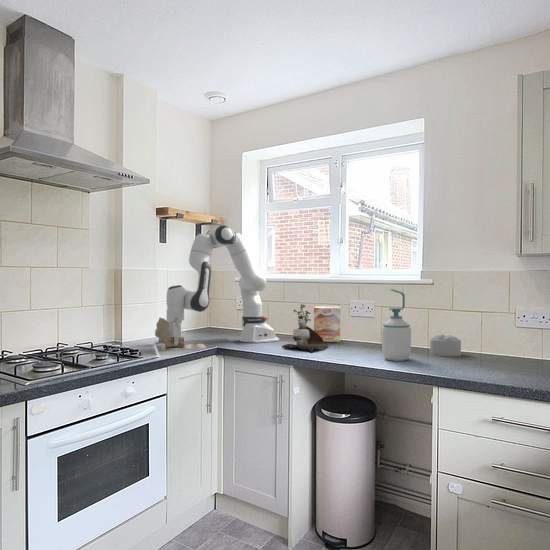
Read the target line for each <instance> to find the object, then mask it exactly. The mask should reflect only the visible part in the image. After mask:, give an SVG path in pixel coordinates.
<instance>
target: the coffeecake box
mask: <svg viewBox="0 0 550 550" xmlns="http://www.w3.org/2000/svg"><path fill="white" fill-rule="evenodd" d="M341 310H342V309H341V306H314V307H313V331H315V332H316V333H317V334H318V335H319V336H320V337H321V338H322V339H323V340H324V342H326V343H327V342H329V343H332V342H333V343H334V342H335V343H340V342H341V339H342V338H341V336H342V335H341V334H342V333H341V332H342V331H341V329H342V328H341V320H342V319H341V315H342V314H341Z"/></svg>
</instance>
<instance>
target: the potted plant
mask: <svg viewBox="0 0 550 550" xmlns="http://www.w3.org/2000/svg"><path fill="white" fill-rule="evenodd" d="M304 308H306V305H305V304H303V303H302V304H300V307H299V309H300V311H297V310H296V309H294V310H293V313H297V318H298V319H297V322H298V323H297V324H298V328H297V329H293V332H292V339H293V340H294V341H295V342H296V344H294V343H293V344H292V343H286V344H283V345H282V346H281V348H282V349H283V348H284V349H285V350H286V351H287V350H288V349H289V348H291V347H292V348H293V349H296V347H298V348H299V349H301V350H303V351H307V349H309V351H310V352H313V349H317V350H320V351H323V350H324V351H325V350H326V349H327V348H328V347H329V346H330V345H329V344H328V343H327V342H324V340H323V339H322V338H321V337H320V336H319V335H318V334H317V333H316V332H315V331H314V329H313V328H311V327H309V326H307V323H308V321H309V322H310V321H312V319H310V318H309V315H310V314H311V312H309V311H308V310H305V312H304Z"/></svg>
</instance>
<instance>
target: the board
mask: <svg viewBox="0 0 550 550" xmlns="http://www.w3.org/2000/svg"><path fill="white" fill-rule="evenodd" d="M160 348H161V350H162V351H170V350H171V351H172V350H188V349H201V348H202V349H203V348H204V349H205V348H207V346H206V345H205V344H204V343H194V344H193V343H190V344H184V347H169V348H166V346H165V345H160Z"/></svg>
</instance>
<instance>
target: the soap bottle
mask: <svg viewBox="0 0 550 550" xmlns="http://www.w3.org/2000/svg"><path fill="white" fill-rule="evenodd" d="M390 291H391V292H393V293H398V294H400V295H401V296H402V307H389V308H388V310H389V311H391V312H392V313H393V315H390V316H389V319H388V320H387V321H385V322H384V324H382V327H381V351H382V355H383V357H384V358H385V359H386V360H388V361H393V362H404V361H407V360H408V359H410V356H411V353H412V329H411V327H410V324H409V323H407V322H406V321H404V320H403V316H401V315H399V313H401V311H402V310H404V309H405V308H406V307H405V304H406V298H405V297H406V296H405V295H406V294H405V293H404V292H402V291H399V290H397V289H394V288H393V289H392V288H390Z"/></svg>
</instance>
